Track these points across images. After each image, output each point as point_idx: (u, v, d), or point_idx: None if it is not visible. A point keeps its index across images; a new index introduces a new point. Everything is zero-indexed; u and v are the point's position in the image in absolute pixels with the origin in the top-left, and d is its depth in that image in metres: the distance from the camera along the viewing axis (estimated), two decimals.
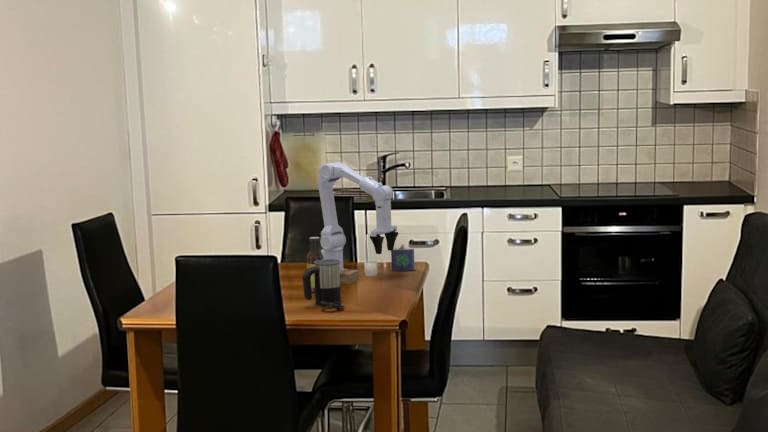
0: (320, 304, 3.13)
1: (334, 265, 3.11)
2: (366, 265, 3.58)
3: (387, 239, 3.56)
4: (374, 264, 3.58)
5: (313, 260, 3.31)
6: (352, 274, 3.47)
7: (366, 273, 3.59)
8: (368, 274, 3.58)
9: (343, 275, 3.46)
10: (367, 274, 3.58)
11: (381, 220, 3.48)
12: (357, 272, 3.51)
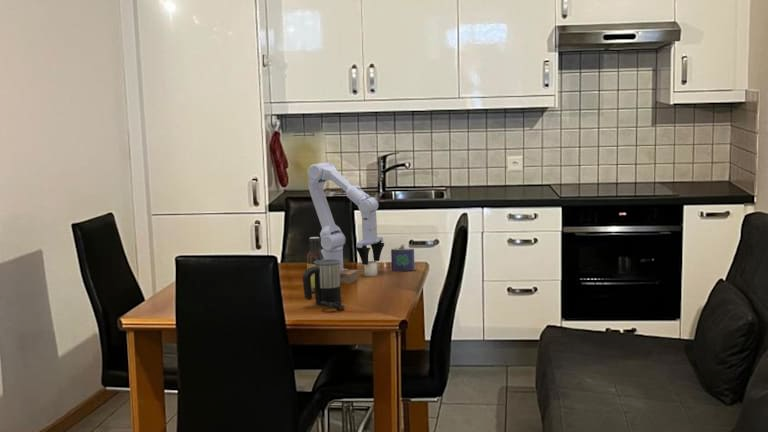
0: (320, 304, 3.13)
1: (334, 265, 3.11)
2: (366, 265, 3.58)
3: (373, 250, 3.63)
4: (374, 264, 3.58)
5: (313, 260, 3.31)
6: (352, 274, 3.47)
7: (366, 273, 3.59)
8: (368, 274, 3.58)
9: (343, 275, 3.46)
10: (367, 274, 3.58)
11: (367, 231, 3.55)
12: (357, 272, 3.51)
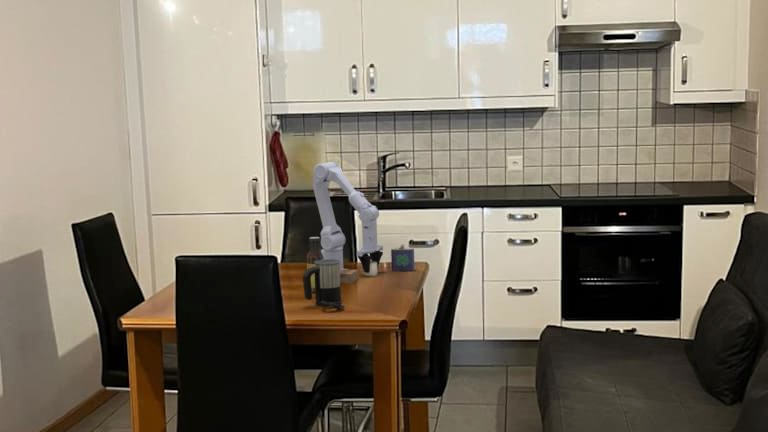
0: (320, 304, 3.12)
1: (334, 265, 3.11)
2: None
3: (372, 259, 3.62)
4: (374, 264, 3.58)
5: (313, 260, 3.31)
6: (353, 274, 3.47)
7: (366, 273, 3.59)
8: (368, 274, 3.58)
9: (344, 275, 3.46)
10: (367, 274, 3.58)
11: (367, 240, 3.56)
12: (357, 272, 3.51)
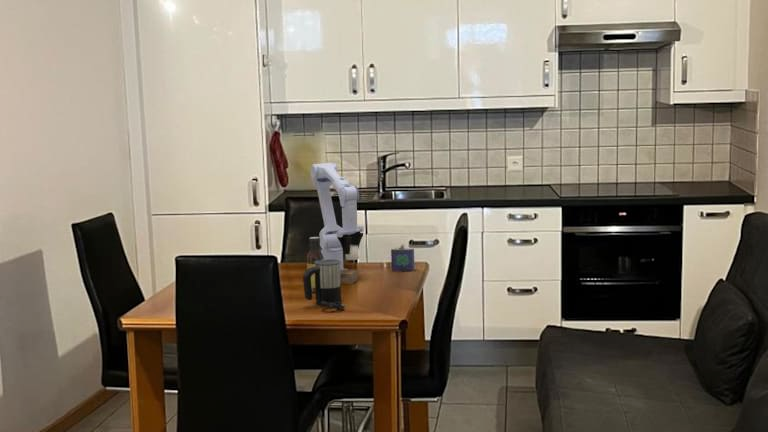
0: (320, 304, 3.12)
1: (334, 265, 3.11)
2: None
3: (352, 240, 3.54)
4: (355, 248, 3.49)
5: (313, 260, 3.31)
6: (353, 274, 3.48)
7: (347, 257, 3.50)
8: (349, 258, 3.49)
9: (345, 275, 3.46)
10: (348, 258, 3.50)
11: (347, 221, 3.47)
12: (357, 272, 3.52)
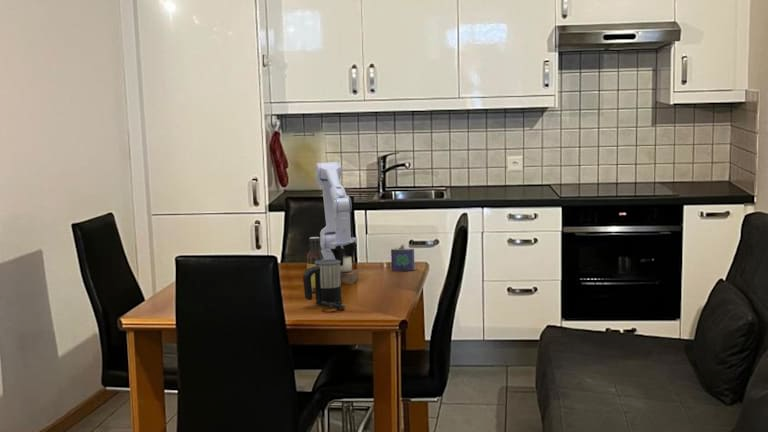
0: (320, 304, 3.12)
1: (334, 265, 3.11)
2: None
3: (345, 251, 3.52)
4: (348, 259, 3.47)
5: (313, 260, 3.31)
6: (353, 274, 3.48)
7: (340, 269, 3.48)
8: (342, 270, 3.47)
9: (345, 275, 3.46)
10: (341, 270, 3.48)
11: (340, 232, 3.45)
12: (356, 272, 3.52)
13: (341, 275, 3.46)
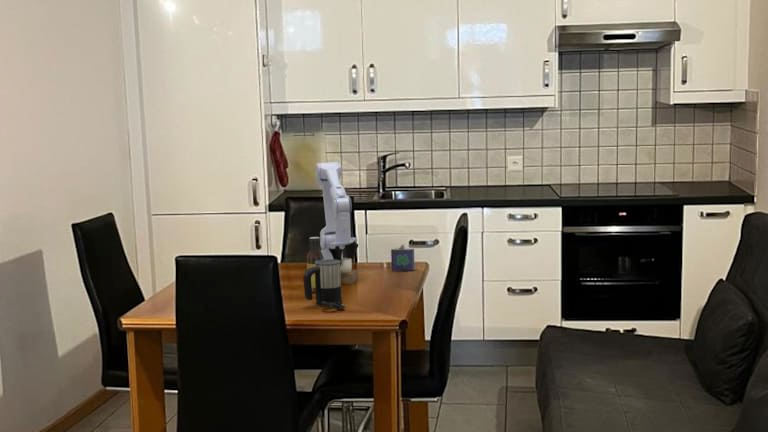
0: (321, 304, 3.12)
1: (335, 265, 3.11)
2: None
3: (347, 251, 3.52)
4: (348, 261, 3.47)
5: (313, 260, 3.31)
6: (353, 274, 3.48)
7: (340, 270, 3.48)
8: (342, 271, 3.47)
9: (345, 275, 3.46)
10: (341, 271, 3.48)
11: (340, 232, 3.45)
12: (356, 272, 3.52)
13: (341, 275, 3.46)
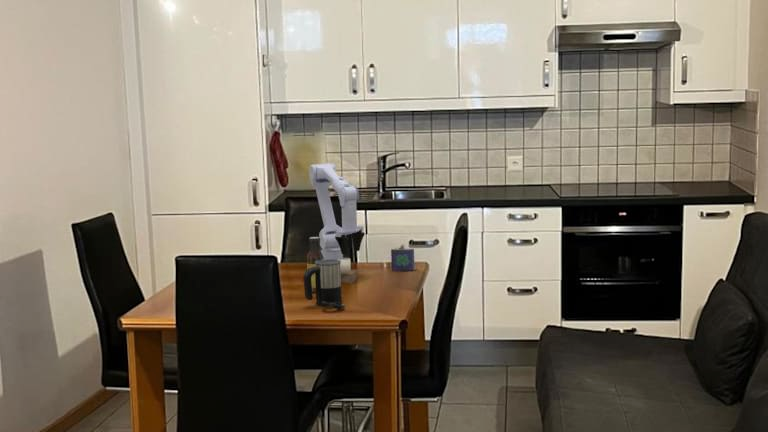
0: (321, 304, 3.12)
1: (335, 265, 3.11)
2: None
3: (353, 239, 3.56)
4: (347, 261, 3.47)
5: (313, 260, 3.31)
6: (353, 274, 3.48)
7: None
8: (341, 271, 3.48)
9: (345, 275, 3.46)
10: None
11: (346, 220, 3.48)
12: (356, 272, 3.52)
13: (341, 275, 3.46)
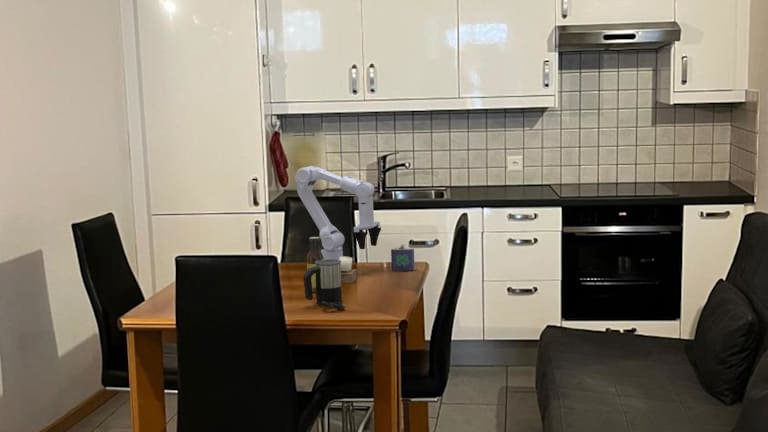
0: (321, 304, 3.12)
1: (335, 265, 3.11)
2: (340, 259, 3.49)
3: (370, 235, 3.65)
4: (348, 259, 3.48)
5: (313, 260, 3.31)
6: (353, 273, 3.48)
7: None
8: None
9: (345, 275, 3.46)
10: None
11: (364, 216, 3.58)
12: (355, 271, 3.53)
13: (341, 275, 3.47)
